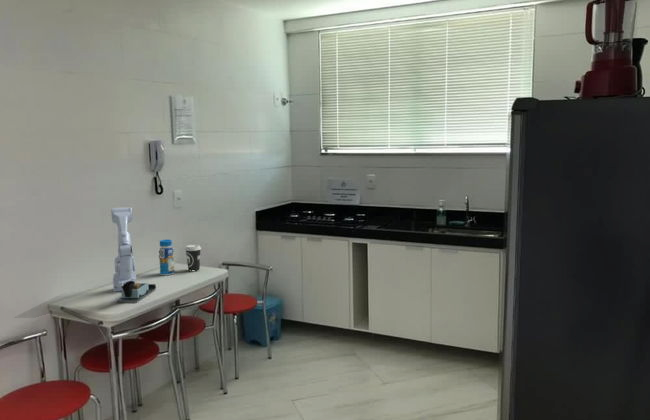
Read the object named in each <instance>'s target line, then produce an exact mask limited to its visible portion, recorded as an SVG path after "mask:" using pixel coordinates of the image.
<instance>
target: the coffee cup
mask: <svg viewBox="0 0 650 420" xmlns="http://www.w3.org/2000/svg"><path fill="white" fill-rule="evenodd" d="M201 250H202V247H201V246H200V244H189V245H188V244H187V245H186V246H185V248H184V251H185V255H186V261H187V269H188V271H189V270H191V271H192V270H199V269H200V267H201ZM200 270H201V269H200ZM200 270H199V271H200ZM191 271H190V272H191Z"/></svg>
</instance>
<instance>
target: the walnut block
mask: <svg viewBox="0 0 650 420" xmlns="http://www.w3.org/2000/svg"><path fill="white" fill-rule="evenodd" d="M140 283H141V282H135V283H134V286H133V288H132V290H137V289H139V288H140V287H141V286H140Z"/></svg>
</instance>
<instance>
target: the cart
mask: <svg viewBox="0 0 650 420" xmlns="http://www.w3.org/2000/svg"><path fill="white" fill-rule="evenodd" d="M139 283H140V286H141V287H140V288H139V289H137V290H132V293H131V297H126V296H125V293H124V291H123V289H122V290H121V291H120V292H121V298H139V297H142V295H143V294H145V293H146V292H149V288H148V284H149V283H148V282H139Z"/></svg>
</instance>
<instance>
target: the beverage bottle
mask: <svg viewBox="0 0 650 420" xmlns="http://www.w3.org/2000/svg"><path fill="white" fill-rule="evenodd" d="M172 245H173V242H172V240H171V239H161V240H159V247H160V248H159V251H158V254H159V255H158V259H159V273H160V275H161V276H171V274H172V275H174V274H175V262H174V261H175V259H174V258H175V254H174V249H173V248H172Z"/></svg>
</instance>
